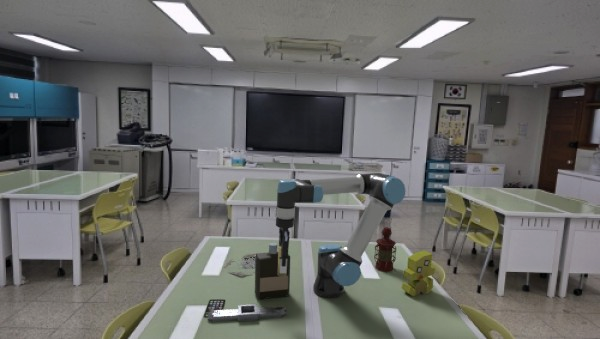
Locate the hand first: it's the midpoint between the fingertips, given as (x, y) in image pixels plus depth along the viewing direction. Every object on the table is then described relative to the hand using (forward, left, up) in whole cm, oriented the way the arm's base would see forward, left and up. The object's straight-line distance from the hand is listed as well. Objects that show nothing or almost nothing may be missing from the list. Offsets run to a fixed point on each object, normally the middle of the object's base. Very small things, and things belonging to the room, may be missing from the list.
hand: (282, 270), depth 156 cm
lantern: (-65, -43, -20) cm, 80 cm away
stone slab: (+11, -56, -20) cm, 61 cm away
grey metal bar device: (+14, 0, -19) cm, 24 cm away
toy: (-70, -13, -20) cm, 74 cm away
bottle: (+2, -18, -20) cm, 26 cm away
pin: (0, 0, -2) cm, 2 cm away
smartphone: (+28, -8, -20) cm, 35 cm away
